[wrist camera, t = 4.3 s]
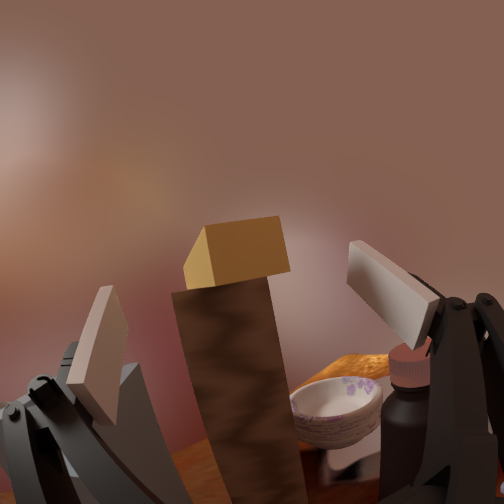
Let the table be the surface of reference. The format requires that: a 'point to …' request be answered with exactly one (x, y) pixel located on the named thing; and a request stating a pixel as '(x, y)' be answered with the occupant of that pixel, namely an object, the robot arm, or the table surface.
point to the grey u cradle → (129, 442)
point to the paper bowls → (336, 411)
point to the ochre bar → (236, 253)
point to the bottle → (404, 418)
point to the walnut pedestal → (242, 389)
